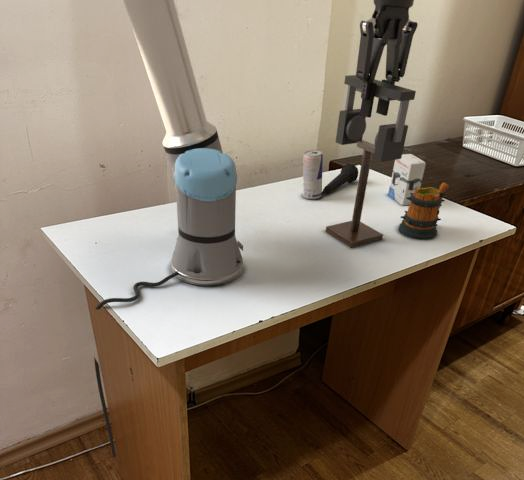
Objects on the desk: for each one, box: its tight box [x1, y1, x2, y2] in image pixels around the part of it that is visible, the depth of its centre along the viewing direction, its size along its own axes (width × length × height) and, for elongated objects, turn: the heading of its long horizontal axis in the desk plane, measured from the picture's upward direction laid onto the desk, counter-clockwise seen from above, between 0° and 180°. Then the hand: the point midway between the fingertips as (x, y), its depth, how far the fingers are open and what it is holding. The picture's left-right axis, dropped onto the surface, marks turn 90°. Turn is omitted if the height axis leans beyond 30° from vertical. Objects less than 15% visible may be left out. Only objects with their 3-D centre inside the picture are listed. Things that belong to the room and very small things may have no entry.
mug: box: [397, 182, 450, 241], centre depth 128 cm, size 13×10×12 cm
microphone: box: [321, 163, 359, 197], centre depth 151 cm, size 6×6×20 cm
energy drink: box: [302, 149, 324, 200], centre depth 142 cm, size 5×5×12 cm
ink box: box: [387, 153, 427, 206], centre depth 144 cm, size 8×5×12 cm, turn 17°
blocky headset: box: [335, 74, 417, 163], centre depth 110 cm, size 6×17×14 cm, turn 32°
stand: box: [325, 139, 384, 248], centre depth 120 cm, size 10×10×22 cm
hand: (373, 114), depth 110 cm, fingers closed on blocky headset, 4 cm apart
